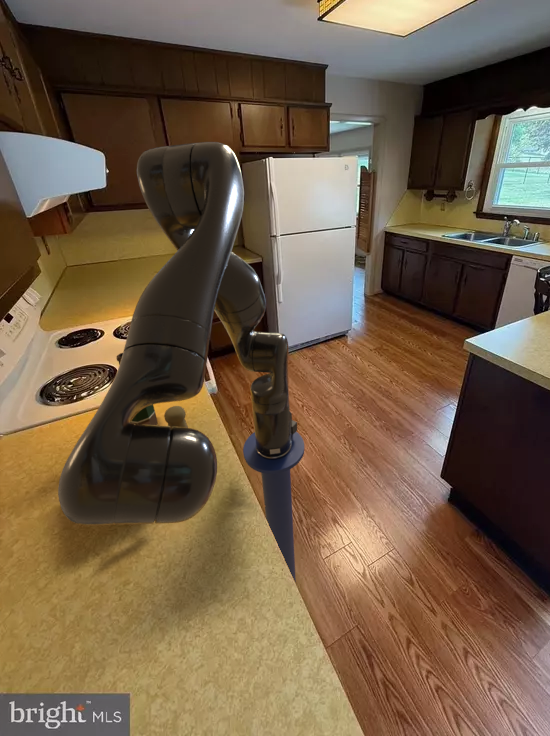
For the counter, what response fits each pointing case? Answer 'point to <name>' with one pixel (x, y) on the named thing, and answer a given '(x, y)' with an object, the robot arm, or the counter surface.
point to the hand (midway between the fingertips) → (141, 484)
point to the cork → (175, 417)
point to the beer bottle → (143, 410)
